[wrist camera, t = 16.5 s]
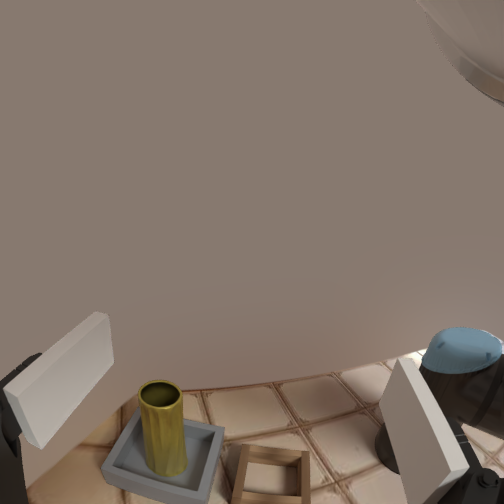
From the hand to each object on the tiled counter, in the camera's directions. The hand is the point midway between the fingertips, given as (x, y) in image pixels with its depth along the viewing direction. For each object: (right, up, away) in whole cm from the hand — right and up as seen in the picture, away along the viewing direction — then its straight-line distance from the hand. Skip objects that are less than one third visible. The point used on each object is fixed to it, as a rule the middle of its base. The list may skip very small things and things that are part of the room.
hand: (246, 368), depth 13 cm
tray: (-12, -26, +23) cm, 37 cm away
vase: (-12, -25, +23) cm, 36 cm away
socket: (+3, -28, +22) cm, 36 cm away
